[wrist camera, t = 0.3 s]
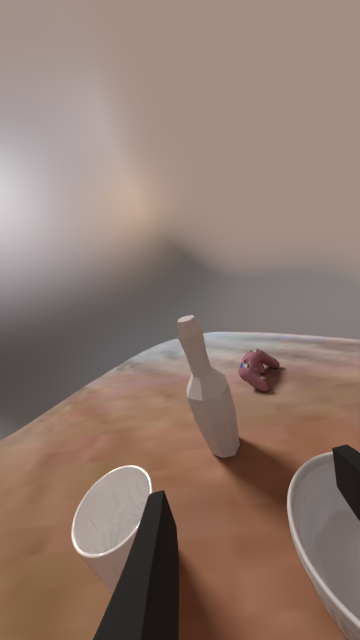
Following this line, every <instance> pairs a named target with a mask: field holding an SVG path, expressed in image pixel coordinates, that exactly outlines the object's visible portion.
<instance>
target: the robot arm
mask: <svg viewBox="0 0 360 640" xmlns="http://www.w3.org/2000/svg"><path fill="white" fill-rule="evenodd" d="M332 450H333V458H334V467H335V475H336V484H337V488H338V489H339V491H340V492H341V494H342V496H343V497H344V499H345V500H346V502H347V503H348V505H349V506H350V508H351V509H352V511H353V512H354V514H355V515H356V517H357V518H358V520H359V521H360V452H358V451H356V450H355V449H353V448H352V447H350V446H348V445H343V446H339V447H335V448H332ZM178 614H179V556H178V541H177V528H176V524H175V521H174V518H173V515H172V512H171V509H170V506H169V504H168V501H167V498H166V495H165V492H164V490H163V491H159V492H155V493H150V494H149V496H148V498H147V502H146V505H145V508H144V511H143V515H142V518H141V521H140V524H139V527H138V530H137V533H136V535H135V538H134V541H133V544H132V546H131V549H130V552H129V555H128V557H127V560H126V563H125V565H124V568H123V571H122V573H121V576H120V578H119V580H118V583H117V585H116V588H115V590H114V593H113V595H112V598H111V600H110V602H109V605H108V607H107V609H106V612H105V614H104V616H103V619H102V621H101V623H100V625H99V627H98V630H97V632H96V634H95V636H94V638H93V640H178Z"/></svg>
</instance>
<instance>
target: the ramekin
mask: <svg viewBox="0 0 360 640" xmlns="http://www.w3.org/2000/svg"><path fill="white" fill-rule="evenodd" d="M287 511H288V519H289V525H290V530H291V534H292V538H293V541H294V544H295V547H296V550H297V552H298V555H299V557H300V559H301V562H302V564H303V566H304V568H305V570H306V572H307V573H308V575H309V577H310V579H311V580H312V583H313V585H314V587H315V590H316V592H317V594H318V595H319V597H320V598H321V600H322V602H323V605H324V606H325V608H326V610H327V611H328V612H329V614H330V615H331V616H332V619H333V621H334V622H335V624H336V625H337V626H338V627H339V628H340V630H341V631H342V632H343V634H344V635H345V637H346V638H347V639H348V640H360V521H359V520H358V518H357V517H356V515H355V514H354V512H353V511H352V509H351V508H350V506H349V505H348V503H347V502H346V500H345V499H344V497H343V496H342V494H341V492H340V491H339V489H338V488H337V484H336V475H335V467H334V458H333V452H328V453H324V454H321V455H318V456H315V457H313V458H311V459H310V460H308V461H307V462H305V463H304V464H303V465H302V466H301V467H300V468H299V469H298V470H297V471H296V473H295V474H294V476H293V478H292V480H291V483H290V486H289V489H288V495H287Z"/></svg>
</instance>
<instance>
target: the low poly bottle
mask: <svg viewBox="0 0 360 640" xmlns="http://www.w3.org/2000/svg"><path fill="white" fill-rule="evenodd" d="M178 338H179V340H180V343H181V345H182V347H183V349H184V352H185V354H186V356H187V359H188V362H189V365H190V368H191V371H192V375H191V378H190V380H189V383H188V386H187V397H188V400H189V403H190V406H191V409H192V412H193V415H194V418H195V421H196V423H197V425H198V427H199V428H200V430H201V432H202V434H203V436H204V438H205V440H206V442H207V444H208V446H209V448H210V449H211V451H212V453H213V454H214V455H216V456H219V457H222V458H226V457H230V456H234V455H236V452H237V450H238V448H239V446H240V443H239V435H238V427H237V420H236V412H235V407H234V403H233V399H232V396H231V392H230V389H229V385H228V383H227V380H226V378H225V375H223V374H222V373H220V372H218V371H217V370H215V369H214V368H212V367H211V366H210V362H209V359H208V356H207V352H206V348H205V343H204V338H203V333H202V329H201V327H200V325H199V323H198V322H197V320H196V319H195V318H194V316H193V315H192V316H185V317H182V318H180V319H179V320H178Z"/></svg>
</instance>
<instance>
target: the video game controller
mask: <svg viewBox="0 0 360 640" xmlns="http://www.w3.org/2000/svg"><path fill="white" fill-rule="evenodd" d="M263 364H265V365H267V366H269V367H272V368H278V367H279V366H280V365H279V362H278V361H277V360H276V359H275V358H273V357H271V356H269V355H268V354H266V353H265V352H263V351H262V350H258V349H256V350H252V351H250V352H248V353H247V354H246V355H245V356H244V357H243V359H242V362H241V366H240V367H239V375H240V377H241V378H242V379H243V380H244V381H247V382H248V383H249V384H250V385H252V386H253V387H255V388H256V389H258V390H260V391H265V392H267V391H268V390H269V386H268V385H267V383H266V382H265V381H264V380H262V379H261V378H260V375H259V374H262V373H264V372H265V368H264V366H263Z"/></svg>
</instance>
